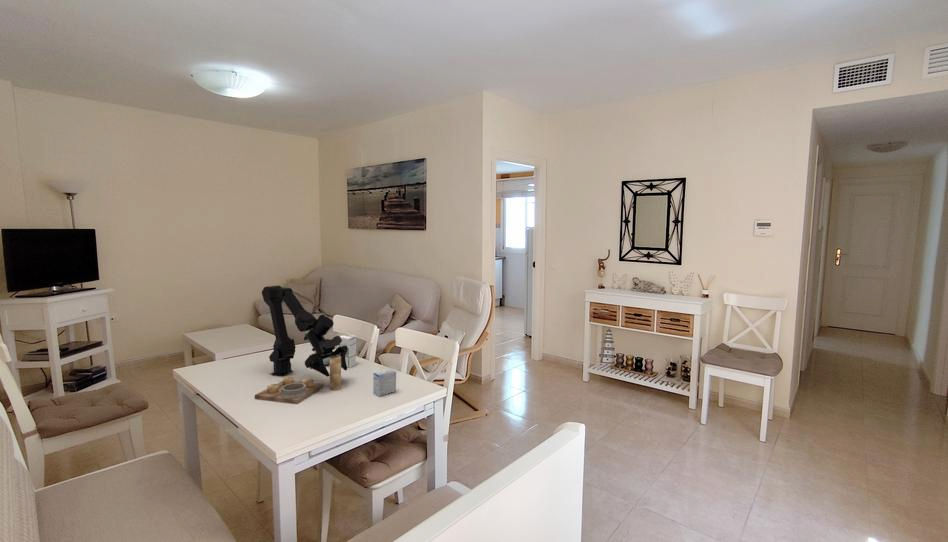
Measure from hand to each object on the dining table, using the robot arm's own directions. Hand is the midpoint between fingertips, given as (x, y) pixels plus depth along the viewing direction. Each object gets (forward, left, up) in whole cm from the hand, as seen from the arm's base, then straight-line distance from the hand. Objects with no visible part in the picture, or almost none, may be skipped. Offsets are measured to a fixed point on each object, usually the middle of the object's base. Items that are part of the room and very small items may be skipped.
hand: (337, 373), depth 174 cm
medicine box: (+20, +1, -7) cm, 21 cm away
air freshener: (-24, +27, -7) cm, 37 cm away
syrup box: (-11, +28, -7) cm, 31 cm away
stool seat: (-15, -9, -7) cm, 19 cm away
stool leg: (-1, 0, -7) cm, 7 cm away
